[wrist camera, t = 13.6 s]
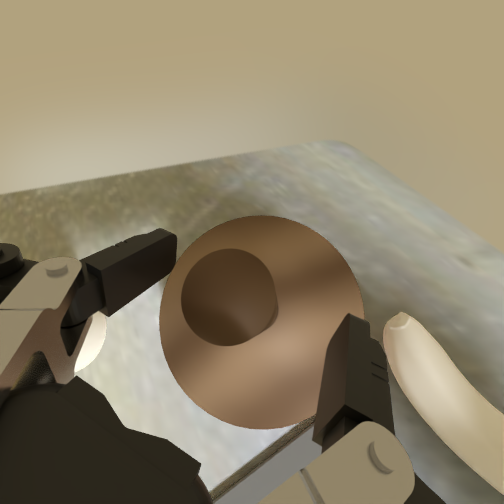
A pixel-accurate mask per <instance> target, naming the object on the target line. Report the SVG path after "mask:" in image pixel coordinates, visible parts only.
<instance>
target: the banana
mask: <svg viewBox="0 0 504 504" xmlns="http://www.w3.org/2000/svg"><path fill="white" fill-rule="evenodd" d="M383 343H384V348H385V352H386V355H387V359H388V362H389V365H390V367H391V370H392V372H393V374H394V376H395V378H396V380H397V382H398V384H399V385H400V387H401V389H402V390H403V392H404V394H405V395H406V397H407V398H408V399H409V401H410V402H411V404H412V405H413V406H414V408H415V409H416V410H417V412H418V413H419V414H420V415H421V417H422V418H423V419H424V420H425V421H426V423H427V424H428V425H429V426H430V427H431V428H432V429H433V430H434V432H435V433H436V434H437V435H438V436H439V437H440V438H441V439H442V440H443V441H444V442H445V444H446V445H447V446H448V447H449V448H450V449H451V450H452V451H453V452H454V453H455V454H456V455H457V456H459V457H460V458H461V459H462V460H463V461H464V462H465V463H466V464H467V465H468V466H470V467H471V468H472V469H473V470H474V471H475V472H476V473H477V474H478V475H480V476H481V477H482V478H483V479H484V480H486V481H487V482H488V483H489V484H490V485H491V486H493V487H494V488H495V489H496V490H498V491H499V492H500V493H501V494H502V495H504V414H503V413H501V412H500V411H499V410H497V409H496V408H495V407H494V406H493V405H491V404H490V403H489V402H488V401H487V400H486V399H485V398H484V397H483V396H482V395H481V394H480V393H479V392H478V391H477V390H476V389H475V388H474V387H473V386H472V385H471V384H470V383H469V382H468V381H467V379H466V378H465V377H464V376H463V375H462V373H461V372H460V371H459V370H458V369H457V367H456V366H455V365H454V363H453V362H452V360H451V359H450V358H449V356H448V355H447V353H446V352H445V351H444V349H443V348H442V347H441V345H440V344H439V343H438V342H437V341H436V340H435V339H434V338H433V337H432V335H431V334H430V333H429V332H428V331H427V330H426V329H425V328H424V327H423V326H422V325H421V324H420V323H419V322H418V321H417V320H416V319H414V318H413V317H411V316H409V315H408V314H406V313H403V312H400V313H399V314H397V315H396V316H394V317H392V318H391V319H390V320H388V322H387V323H386V325H385V327H384V331H383Z"/></svg>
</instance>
